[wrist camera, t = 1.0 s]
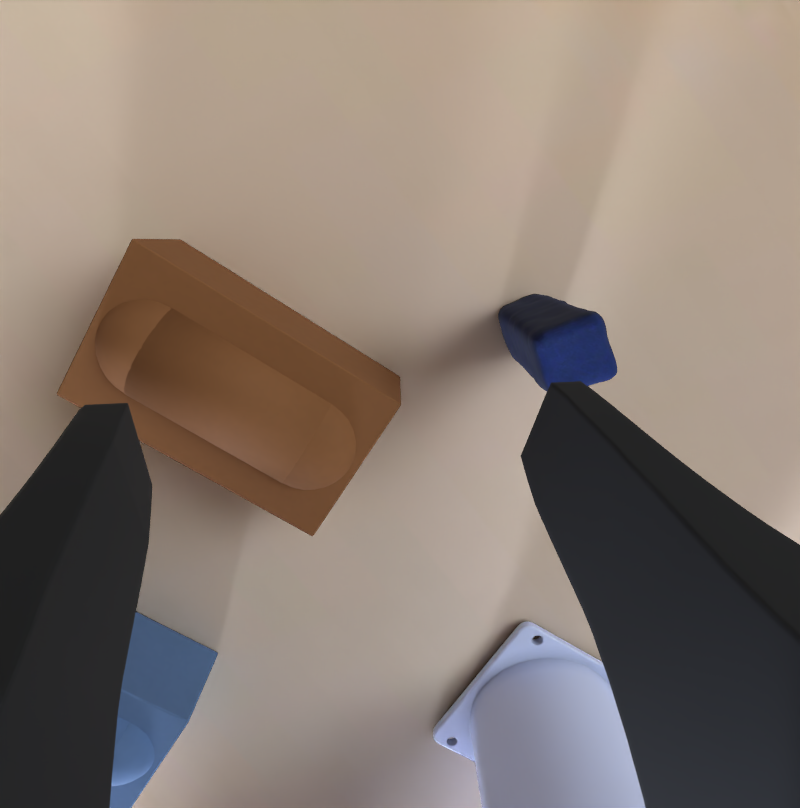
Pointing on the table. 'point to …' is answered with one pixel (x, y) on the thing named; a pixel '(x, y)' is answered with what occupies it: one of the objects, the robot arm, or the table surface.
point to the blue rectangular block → (154, 703)
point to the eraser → (557, 341)
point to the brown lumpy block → (232, 381)
